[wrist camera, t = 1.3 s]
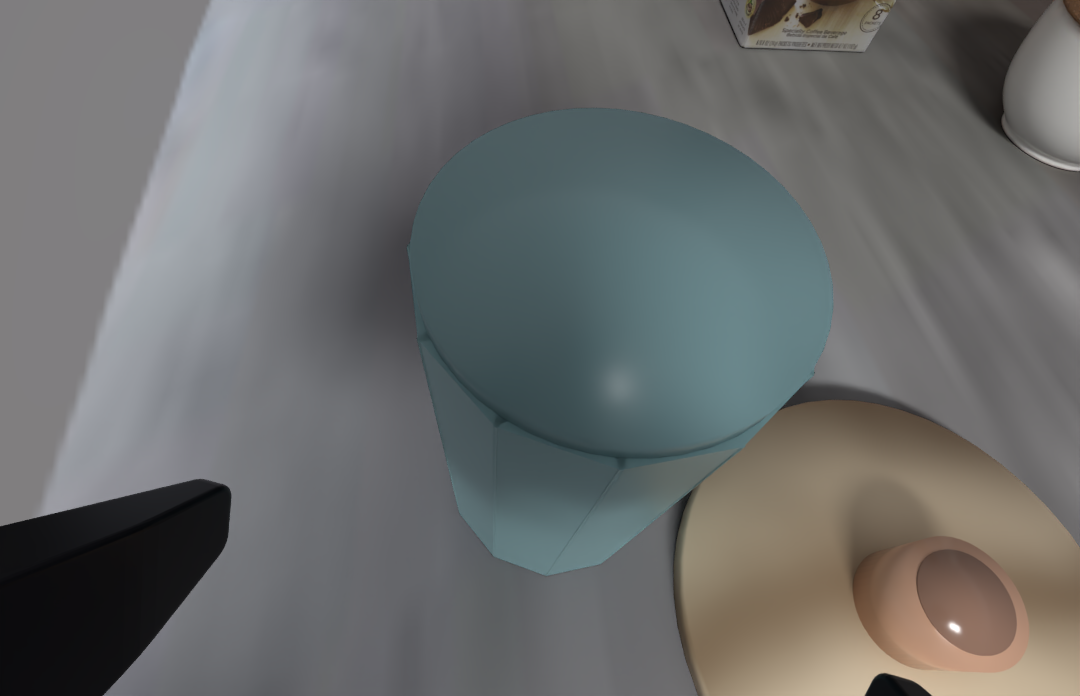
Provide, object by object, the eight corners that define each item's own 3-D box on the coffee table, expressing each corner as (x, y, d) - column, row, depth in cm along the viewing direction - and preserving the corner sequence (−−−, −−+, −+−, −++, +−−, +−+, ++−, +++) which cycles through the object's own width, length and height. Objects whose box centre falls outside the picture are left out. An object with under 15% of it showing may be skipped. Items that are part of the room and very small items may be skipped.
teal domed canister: (670, 549, 19) (923, 403, 8) (470, 592, 18) (430, 495, 7) (615, 372, 23) (737, 95, 11) (444, 399, 21) (389, 118, 10)
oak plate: (1219, 820, 16) (1268, 831, 15) (781, 985, 14) (804, 1012, 13) (944, 386, 23) (965, 374, 22) (622, 444, 21) (628, 433, 20)
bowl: (984, 655, 17) (1058, 655, 15) (887, 682, 16) (949, 687, 14) (924, 539, 19) (981, 525, 17) (833, 561, 18) (881, 548, 16)
